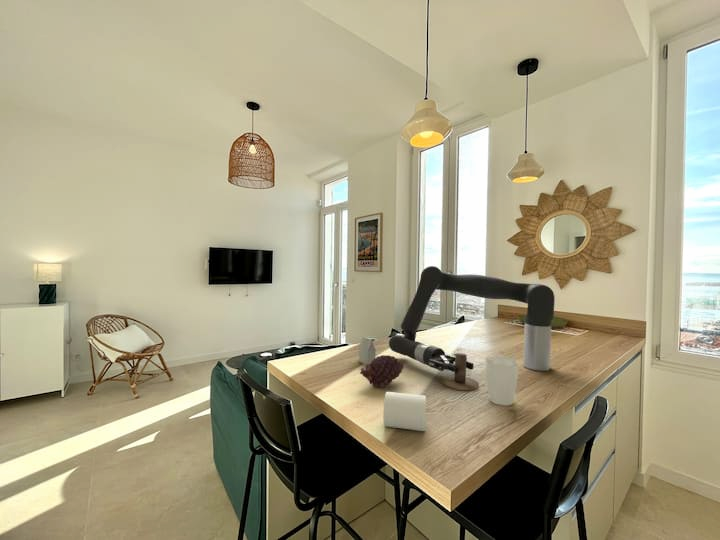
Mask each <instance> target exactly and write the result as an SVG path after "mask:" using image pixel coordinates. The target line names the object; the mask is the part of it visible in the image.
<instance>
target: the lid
mask: <svg viewBox="0 0 720 540" xmlns="http://www.w3.org/2000/svg"><path fill="white" fill-rule="evenodd" d="M454 354H455V361H454V364H455V365H456V366H459V367H460V372H459V373H455V372H454V375H453V374H452V375H445V376H443V377H442V378H441V385H443V386H445V387H446V388H450V389H452V390H455V391H461V392H472V391H477V390H478V389H479V387H480V385H479V382H478V381H476V380H475V379H473V378H471V377H466V376H467V368H466V358H467V354H466V353H463V352H461V353H460V352H455V353H454ZM467 359H468V358H467Z"/></svg>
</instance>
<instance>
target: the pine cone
mask: <svg viewBox="0 0 720 540" xmlns="http://www.w3.org/2000/svg"><path fill="white" fill-rule="evenodd" d="M404 367H405V366H404V363H402V362H401V361H399V359H398V358H396V357H395V356H394V355H393V356H392V355H389V354H388V355H383V354H382V355H380V356H377V357H376V356H375V358H374V359H373V361H372V362H371V364H366V365H365V367H362V368H360V372H359V374H360V375H362V377H364V378H365V379H367V381H368V382H369V384H370V385H373V386H374V387H377V388H383V387H384V386H388V385H389V384H391V383H392V382H393V380H395V379H396V378H399V376H400V374H401V373H403V372H402V371H403V369H404Z"/></svg>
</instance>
